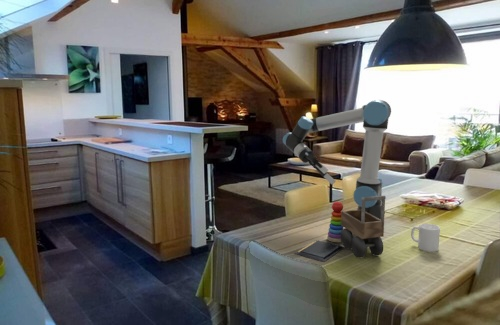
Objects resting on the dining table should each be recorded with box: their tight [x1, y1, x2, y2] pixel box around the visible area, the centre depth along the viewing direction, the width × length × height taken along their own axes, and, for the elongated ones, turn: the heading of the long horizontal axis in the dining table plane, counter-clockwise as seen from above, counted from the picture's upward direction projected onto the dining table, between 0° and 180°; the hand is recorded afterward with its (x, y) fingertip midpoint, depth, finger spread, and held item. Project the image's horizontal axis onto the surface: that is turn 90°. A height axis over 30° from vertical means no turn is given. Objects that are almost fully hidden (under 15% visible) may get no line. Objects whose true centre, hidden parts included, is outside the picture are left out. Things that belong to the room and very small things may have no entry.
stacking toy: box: [326, 201, 344, 244], centre depth 185 cm, size 8×8×19 cm
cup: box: [410, 223, 441, 253], centre depth 175 cm, size 8×12×10 cm
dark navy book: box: [293, 240, 345, 263], centre depth 174 cm, size 20×2×15 cm
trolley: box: [341, 195, 387, 259], centre depth 170 cm, size 10×19×27 cm, turn 14°
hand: (330, 177), depth 198 cm, fingers open, 13 cm apart
